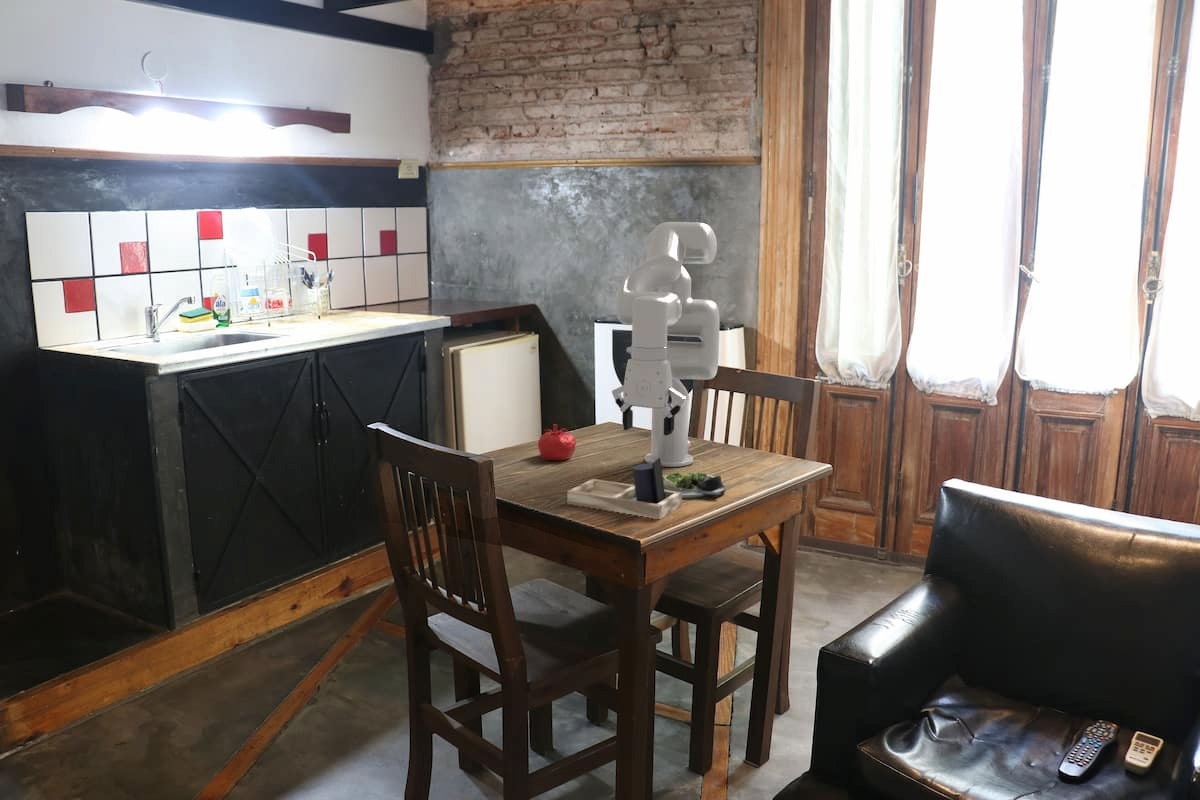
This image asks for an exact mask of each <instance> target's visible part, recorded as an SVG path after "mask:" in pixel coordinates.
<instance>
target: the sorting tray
mask: <svg viewBox="0 0 1200 800" xmlns="http://www.w3.org/2000/svg"><path fill="white" fill-rule="evenodd" d="M664 492H665V499H664V500H663V501H661V502H659V503H658V504H657V503H655V504H653V503H647V502H641V501H637V499H636V491H635V484H630V483H624V482H623V483H622V482H618V481H617V482H616V481H611V480H604V479H598V478H591V479H589V480H587V481H585V482H583V483H581V484H579V485H577V486H575V487H573V488H571V489H569V490H567V492H566V493H567V494H566V495H567V496H566V497H567V500H566V501H567V502H566V504H567V505H570V504H573V505H572V506H576V505H579V506H578V507H582V506H585V507H584V508H587V507H590V509H593V508H595V509H594V510H599V509H602V510H601V511H605V510H608V511H607V512H611V511H614V512H613V513H616V512H619V513H618V514H622V513H626V514H625V515H628V514H633V515H632V516H634V515H638V516H637V517H640V516H644V517H643V518H646V517H649V518H648V519H651V518H653V520H657V519H660V520H661V519H663V518H664V517H666V516H668V515H669V514H670V512H671V513H672V512H674V511H675V510H676V508H677V509H678V508H680V507H681V506H683V505H682V503H683V502H682V501H683V498H682V492H675V491H669V490H664ZM679 506H680V507H679ZM667 514H668V515H667Z"/></svg>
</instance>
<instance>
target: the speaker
mask: <svg viewBox="0 0 1200 800" xmlns="http://www.w3.org/2000/svg"><path fill="white" fill-rule="evenodd" d="M632 475H633V476H632V477H633V482H634V484H633V485H635V491H636V499H637V501H641V502H647V503H653V504H655V503H657V504H658V503H659V502H661V501H663V500H664V499H665V492H664V485H663V477H662V475H663V470H662V466H661V461H660V458H658V459H657V460H656V461H654V462H653V463H647V462H646V463H643V464H642V463H641V464H637V465H635V466H633V467H632Z"/></svg>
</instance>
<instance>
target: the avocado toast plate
mask: <svg viewBox="0 0 1200 800" xmlns="http://www.w3.org/2000/svg"><path fill="white" fill-rule="evenodd" d="M662 477H663V485H664V490H669V491H675V492H682V499H711V498H712V497H713V498H717V496H718V497H720V495H721V496H723V495H724V493H725V492H726V491H727V490H726V489H727V488H726V486H725V485H724V484H723V482H722V477H721V475H717V476H714V475H710V474H706V473H705V472H704V473H703V472H696V471H695V472H694V471H693V472H692V473H691V472H687V473H685V474H682V473H681V474H680V473H678V472H677V473H676V472H670V473H668V474H662ZM713 498H712V499H713Z"/></svg>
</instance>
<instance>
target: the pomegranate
mask: <svg viewBox="0 0 1200 800" xmlns="http://www.w3.org/2000/svg"><path fill="white" fill-rule="evenodd" d="M552 426H553V431H552V429H543V430H544V431H545V433H543V434H542V435H541V436H540V437H539V440H538V442H537V447H538V451H539V455H540V457H541V458H542V459H543V460H546V461H550V460H553V462H555V461H557V462H558V460H559V461H567V460H569V459H570V458H571V457H573V455H574V454H575V452H576V445H577V440H576V438H575V437H574V436H573V435H572V434H570V433H571V432H570V431H568V430H564V428H561V429H560V430H558V424H556V423H553V424H552Z"/></svg>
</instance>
